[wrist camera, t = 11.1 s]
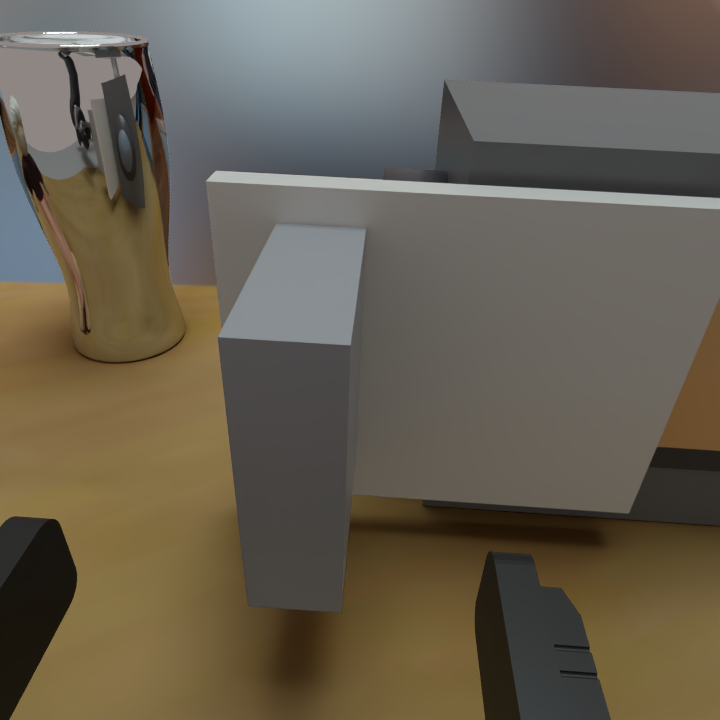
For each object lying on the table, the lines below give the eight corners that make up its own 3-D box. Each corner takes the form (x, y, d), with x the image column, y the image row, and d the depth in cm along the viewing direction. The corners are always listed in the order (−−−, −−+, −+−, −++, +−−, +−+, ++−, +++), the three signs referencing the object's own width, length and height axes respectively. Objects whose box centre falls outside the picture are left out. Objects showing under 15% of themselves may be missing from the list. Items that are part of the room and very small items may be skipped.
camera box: (733, 367, 33) (870, 74, 25) (885, 541, 23) (1208, 138, 14) (367, 344, 33) (382, 51, 25) (353, 504, 23) (371, 96, 15)
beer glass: (210, 347, 32) (172, 44, 24) (76, 381, 29) (-19, 46, 21) (174, 297, 37) (132, 30, 29) (56, 321, 34) (-28, 31, 26)
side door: (620, 492, 21) (736, 198, 15) (703, 684, 16) (944, 330, 10) (244, 467, 22) (215, 170, 16) (187, 645, 16) (108, 280, 10)
